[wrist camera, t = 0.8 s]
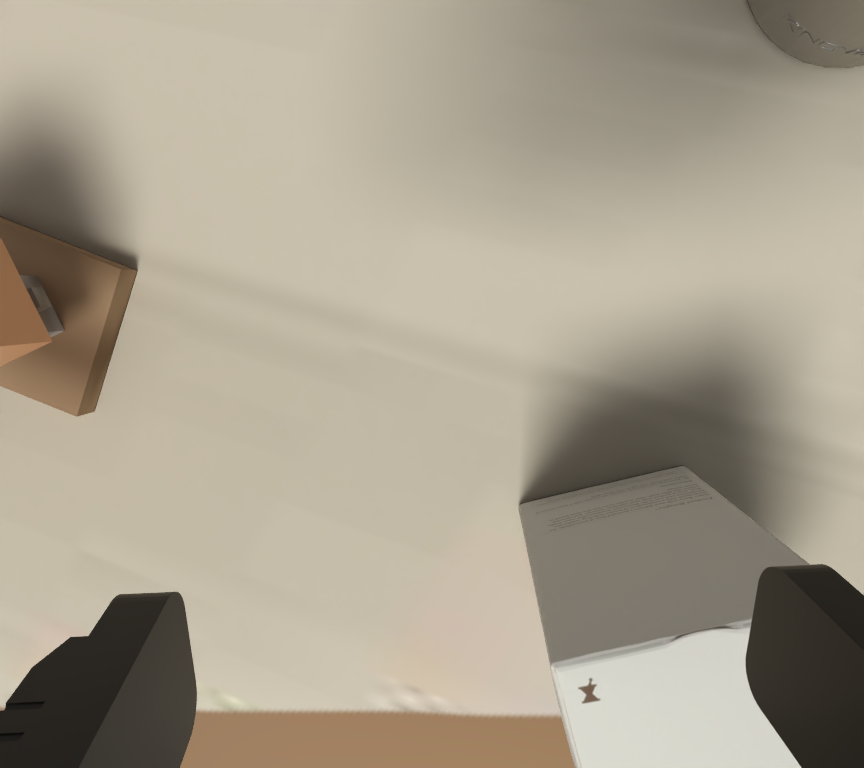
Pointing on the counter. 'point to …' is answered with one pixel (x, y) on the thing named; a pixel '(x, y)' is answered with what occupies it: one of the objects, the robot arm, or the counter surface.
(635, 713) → the supplement box
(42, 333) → the tall orange box
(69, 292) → the post stand
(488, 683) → the counter surface
